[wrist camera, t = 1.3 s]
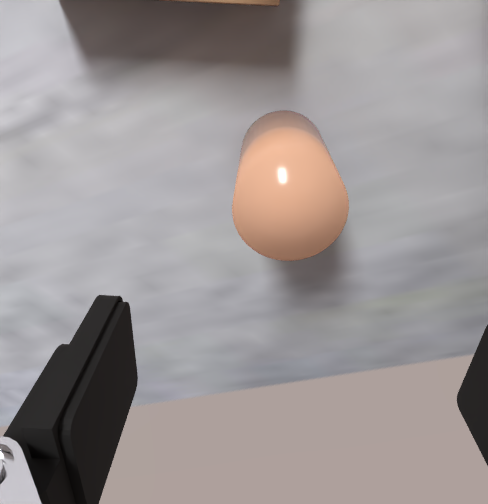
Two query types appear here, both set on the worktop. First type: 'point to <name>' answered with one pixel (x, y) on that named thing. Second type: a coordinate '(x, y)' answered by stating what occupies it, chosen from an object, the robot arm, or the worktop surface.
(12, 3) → the worktop surface
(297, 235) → the glossy peach capsule
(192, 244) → the worktop surface
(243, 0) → the walnut plinth
